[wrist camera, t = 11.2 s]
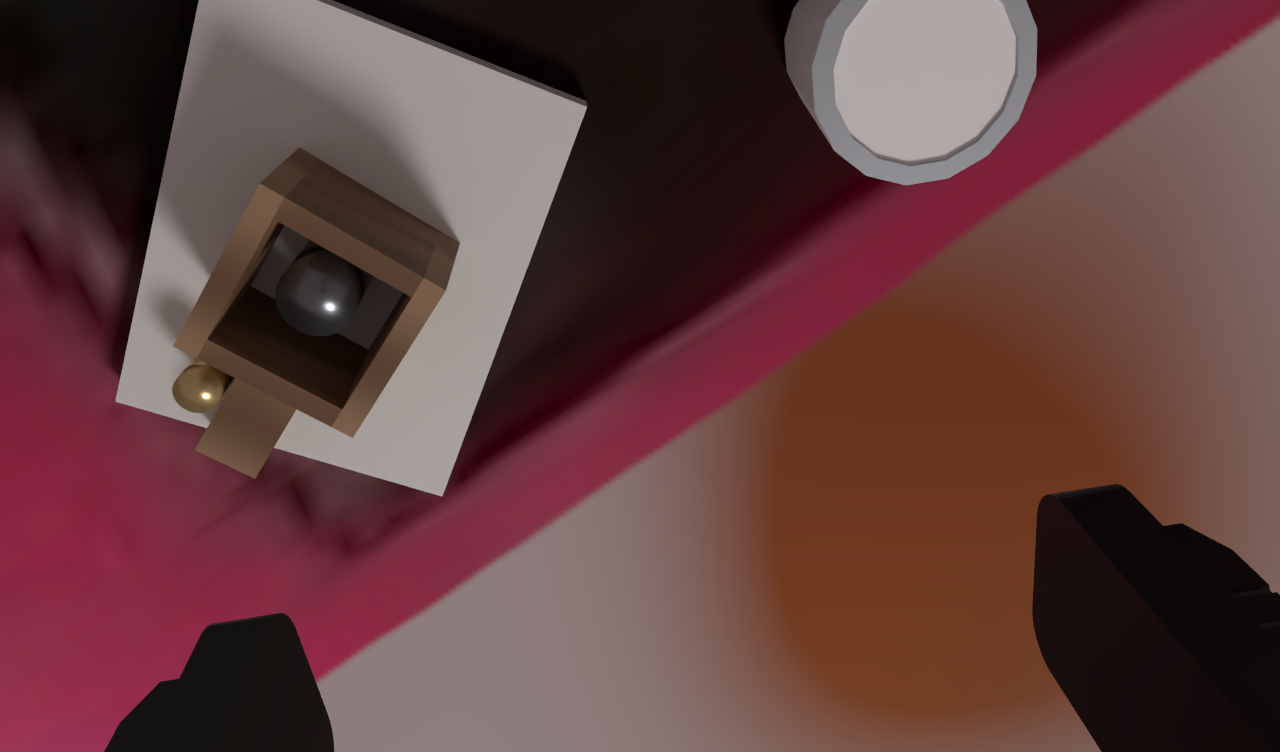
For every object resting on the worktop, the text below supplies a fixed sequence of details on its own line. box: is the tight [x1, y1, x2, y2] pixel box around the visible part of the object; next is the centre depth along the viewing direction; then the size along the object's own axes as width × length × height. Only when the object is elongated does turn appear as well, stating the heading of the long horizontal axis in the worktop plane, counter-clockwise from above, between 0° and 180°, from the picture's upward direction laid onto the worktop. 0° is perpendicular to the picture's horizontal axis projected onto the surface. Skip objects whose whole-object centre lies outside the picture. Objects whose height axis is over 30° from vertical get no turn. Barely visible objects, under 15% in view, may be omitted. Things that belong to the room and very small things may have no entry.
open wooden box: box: [173, 147, 460, 479], centre depth 35 cm, size 12×6×5 cm, turn 146°
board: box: [116, 0, 587, 496], centre depth 37 cm, size 17×13×1 cm
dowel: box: [172, 357, 234, 413], centre depth 36 cm, size 2×2×2 cm
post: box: [275, 240, 373, 336], centre depth 34 cm, size 3×3×4 cm
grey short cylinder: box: [784, 0, 1037, 185], centre depth 32 cm, size 7×7×7 cm
